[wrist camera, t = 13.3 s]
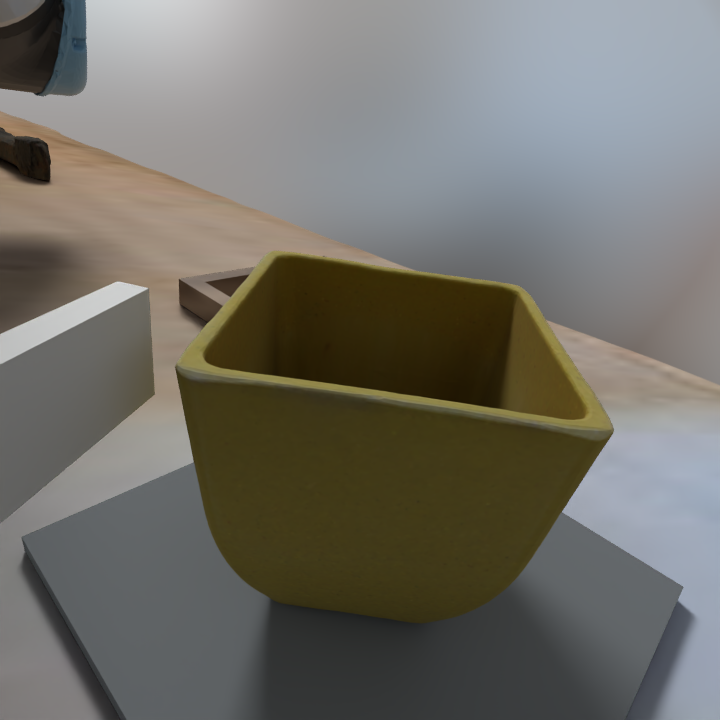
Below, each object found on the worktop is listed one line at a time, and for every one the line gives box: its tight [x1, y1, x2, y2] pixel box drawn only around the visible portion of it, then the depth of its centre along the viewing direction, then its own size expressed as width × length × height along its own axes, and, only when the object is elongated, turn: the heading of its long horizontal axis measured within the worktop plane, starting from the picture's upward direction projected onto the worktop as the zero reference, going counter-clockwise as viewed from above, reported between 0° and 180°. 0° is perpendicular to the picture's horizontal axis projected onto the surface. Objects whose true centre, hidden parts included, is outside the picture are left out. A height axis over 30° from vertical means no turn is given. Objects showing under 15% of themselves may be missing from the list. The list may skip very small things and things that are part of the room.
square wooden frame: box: [179, 256, 325, 322], centre depth 36 cm, size 13×13×2 cm
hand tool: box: [0, 127, 51, 180], centre depth 64 cm, size 19×4×5 cm, turn 46°
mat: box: [22, 463, 683, 720], centre depth 17 cm, size 16×16×1 cm
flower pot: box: [175, 251, 614, 623], centre depth 16 cm, size 9×9×9 cm
